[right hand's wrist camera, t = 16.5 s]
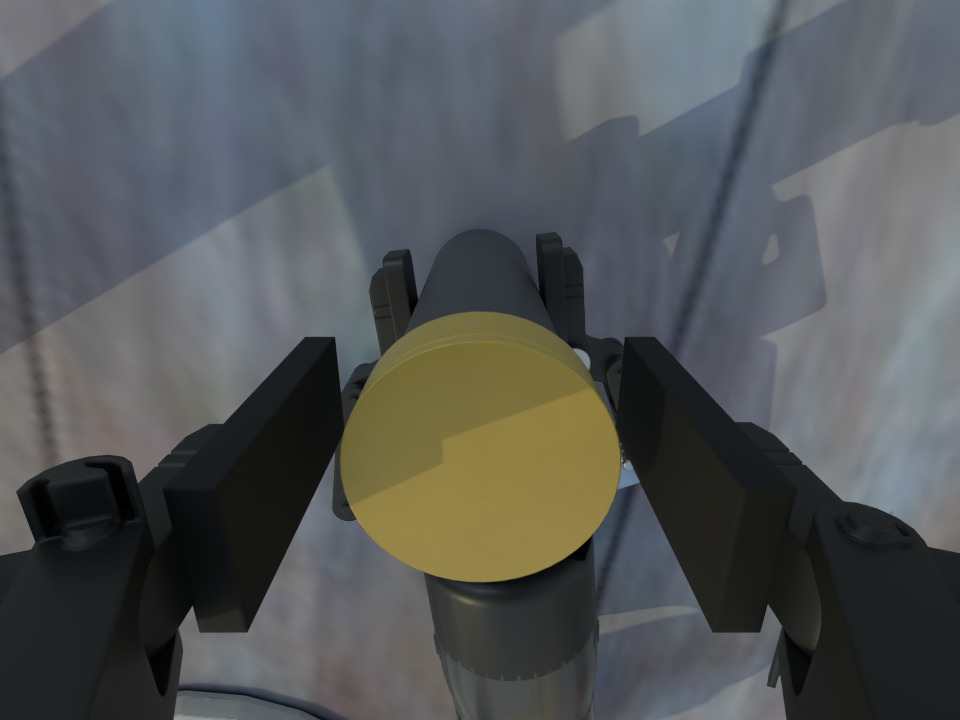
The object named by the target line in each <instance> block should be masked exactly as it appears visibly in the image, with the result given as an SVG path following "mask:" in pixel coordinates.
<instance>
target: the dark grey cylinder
mask: <svg viewBox="0 0 960 720" xmlns="http://www.w3.org/2000/svg"><path fill="white" fill-rule="evenodd" d="M476 311H477V312H496V313H503V314H509V315H513V316H516V317H520V318H523V319H527V320H529V321H531V322H534V323H536V324H538V325H540V326H542V327H544V328H546V329H547V330H549V331H551V332H552V333H554V334H556V332H555V330H554V327H553V325H552V322H551V320H550V318H549V315H548V313H547V310H546V308H545V306H544V303H543V301H542V298H541V296H540V294H539V291H538V289H537V287H536V284H535V282H534V279H533V277H532V275H531V272H530V270H529V267H528V265H527V263H526V260H525V258H524V256H523V254H522V253H521V251H520V249H519V248H518V247H517V246H516V245H515V244H514V243H513V242H512V241H511V240H510V239H508V238H507V237H505V236H503V235H501V234H499V233H496V232H493V231H489V230H472V231H467V232H464V233H461V234H459V235H457V236H455V237H454V238H452V239H451V240H450V241H448V242H447V243H446V244H445V245H444V246H443V248H442V249H441V250H440V252H439V253H438V255H437V257H436V259H435V261H434V264H433V266H432V269H431V271H430V274H429V276H428V278H427V281H426V283H425V286H424V288H423V290H422V293H421V295H420V298H419V300H418V302H417V305H416V307H415V310H414V312H413V314H412V317H411V319H410V322H409V324H408V327H407V329H406V331H405V334H404V335H406V334H407V333H409V332H410V331H412V330H413V329H415V328H417V327H419V326H421V325H423V324H425V323H427V322H430V321H432V320H435V319H438V318H441V317H444V316H448V315H453V314H457V313H465V312H476ZM556 335H557V334H556Z"/></svg>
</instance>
